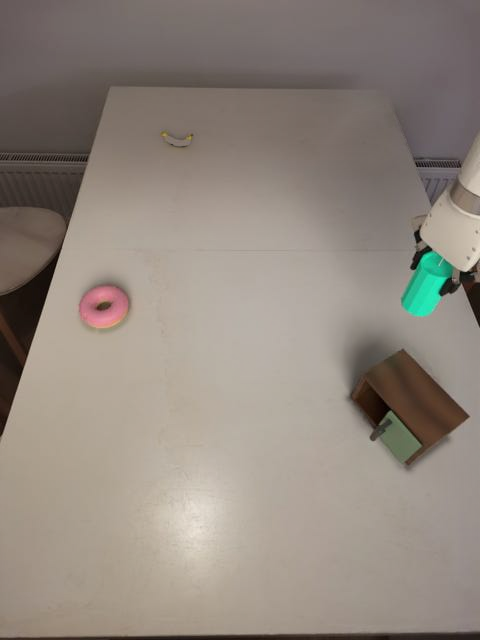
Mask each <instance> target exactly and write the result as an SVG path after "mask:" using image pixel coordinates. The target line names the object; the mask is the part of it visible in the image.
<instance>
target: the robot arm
mask: <svg viewBox="0 0 480 640" xmlns="http://www.w3.org/2000/svg"><path fill="white" fill-rule="evenodd" d="M478 130H479V131H478V132H477V134H476V136H475V138H474V140H473V142H472V144H471V146H470V148H469V150H468V153H467V155H466V156H465V158H464V160H463V162H462V165H461V167H460V169H459V170H458V173H457V174H456V176H455V178H454V180H453V182H452V183H450V184H449V185H448V186H446V188H445V189H444V190H443V191H442V193H441V194H440V195H439V196H438V198H437V199H436V201H435V202H434V203H433V205H432V206H431V208H430V210H429V211H428V213H427V214H421V215H416V216H415V217H412V218H411V219H410V223H411V226H412V230H413V231H414V232H413V236H414V240H415V243H416V244H415V246H414V250H415V252H414V255H413V257H412V259H411V261H412V262H411V264H410V267H409V269H410V270H411V271H415V270H416V268H417V266H418V264H419V262H420V260H421V259H422V257H423V255H424V254H426V253H429V252H431V251H434V252H437V253H438V254H439V255H440V256H442V257H443V258H444V259H445V260H446V261H448V262H449V263H450V264H451V265H453V274H452V277H450V278H449V279H447V281H446V282H445V284H444V285H443V287H442V289H441V290H440V292H439V295H440V296H441V298H443V297H444V296H446V295H448V294H449V295H453V294H454V293H455V292H457V291H458V290H459V288H460V286H461V285H462V284H464V283H465V284H466V283H467V284H471V283H480V129H478ZM474 266H476V270H475V271H473V270H472V268H473V267H474Z"/></svg>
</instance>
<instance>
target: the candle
mask: <svg viewBox="0 0 480 640" xmlns="http://www.w3.org/2000/svg"><path fill="white" fill-rule="evenodd" d="M452 274H453V265H451V264H450V263H449V262H448V261H446V260H445V259H444V258H443V257H442V256H440V255H439V254H438V253H437V252H436V251H434V250H432V251H431V252H429V253H426V254H424V255H423V257H422V259H421V260H420V262H419V264H418V266H417V268H416V269H415V270H414V272H413V274H412V276H411V278H410V280H409V281H408V284H407V286H406V288H405V290H403V293H402V296H401V297H400V303H401V306H402V307H403V309H404V310H405V311H406V312H407V313H409V314H411V315H412V316H415V317H427V316H428V315H431V314H432V313H433V311H435V310H434V309H435V308H436V307H437V305H438V304H439V302H440V300H441V299H442V297H441V296H440V295H439V292H440V290H441V289H442V287H443V285H444V284H445V282H446V281H447V279H449V278H450V277H452Z"/></svg>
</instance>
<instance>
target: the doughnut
mask: <svg viewBox="0 0 480 640" xmlns="http://www.w3.org/2000/svg"><path fill="white" fill-rule="evenodd" d="M103 303H110V306H109V307H107V309H105V308H104V309H103V310H99V309H98V306H100V305H102V304H103ZM77 305H78V313H79V316H80V318H81V320H82V321H83V322H84V323H85V324H87V325H88V326H90V327H93V328H97V329H107V328H110V327H114V326H115V325H117V324H119V323H120V322H121V321H122V320H123V319H125V317H126V316H127V314H128V312H129V305H130V301H129V297H128V296H127V294H126V292H124V291H123V289H121V288H119V286H115V285H109V284H108V285H104V284H102V285H98V286H95V287H93V288H91V289H89V290H88V291H86V293H84V294H83V296H81V299H80V301H79V304H77Z"/></svg>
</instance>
